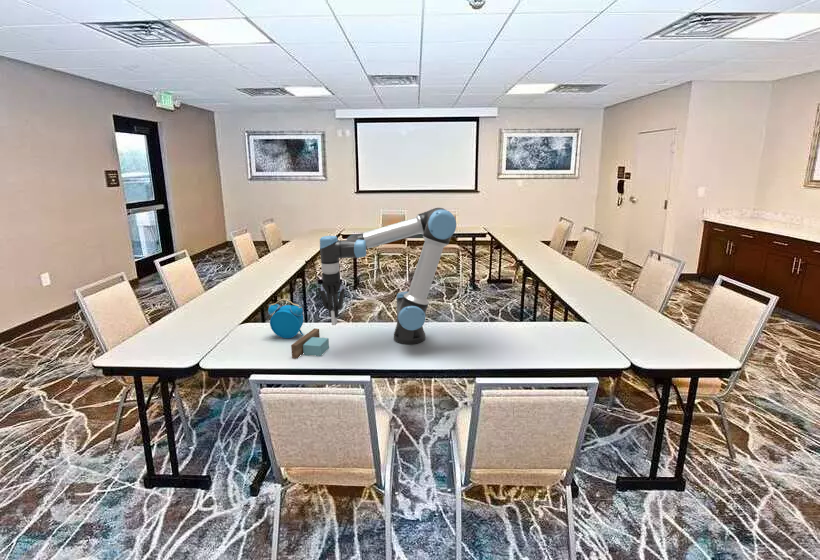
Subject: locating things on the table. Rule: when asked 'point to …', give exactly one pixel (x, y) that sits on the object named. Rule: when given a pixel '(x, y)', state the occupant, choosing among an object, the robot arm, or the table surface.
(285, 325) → the alarm clock
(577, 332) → the table surface
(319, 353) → the block
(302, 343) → the board
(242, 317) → the table surface
